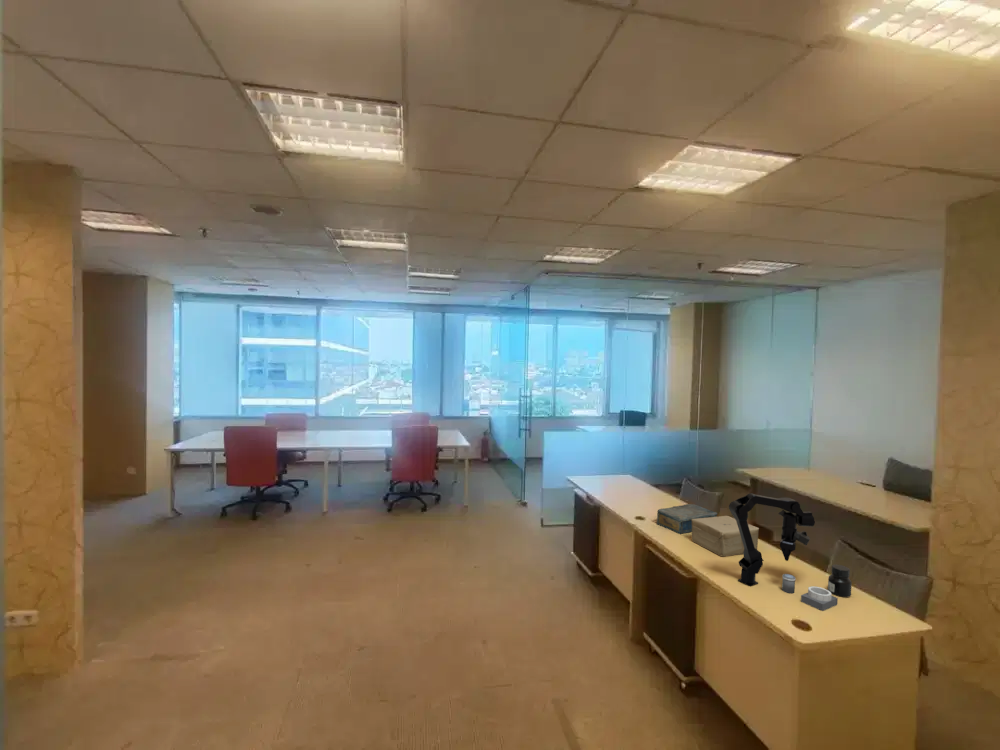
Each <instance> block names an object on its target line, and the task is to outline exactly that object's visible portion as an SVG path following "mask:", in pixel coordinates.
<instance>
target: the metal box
mask: <svg viewBox="0 0 1000 750" xmlns="http://www.w3.org/2000/svg"><path fill="white" fill-rule="evenodd" d="M656 513H657V518H656V525H659V526H660V527H662V528H664V529H667V530H670V531H672V532H674V533H676V534H678V535H684V534H690V533H692V519H698V518H709V517H718V512H717V511H713V510H710V509H708V508H705V507H702V506H700V505H697V504H694V503H686V504H682V505H677V506H676V505H675V506H672V507H666V508H659V509H657V512H656Z"/></svg>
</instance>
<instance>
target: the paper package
mask: <svg viewBox="0 0 1000 750" xmlns="http://www.w3.org/2000/svg"><path fill="white" fill-rule="evenodd" d="M748 526H749V530H750V533H751V537H752V540H753V544H754V547H755V549H757V550H758V543H759V529H760V528H759V527H757V526H754V525H752V524H750V523H748ZM691 541H692V542H693V543H695V544H696V545H699V546H701V547H703V548H705V549H707V551H710V552H712V553H714V554H715V555H718V556H720V557H728V556H736V555H737V556H738V555H743V552H744V545H743V542H742V539H741V535H740V532H739V528H738V525H737V522H736V520H735V518H734V517H733V516H732V517H731V516H729V515H721V516H720V515H719V516H717V517H709V518H698V519H692V532H691Z"/></svg>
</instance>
